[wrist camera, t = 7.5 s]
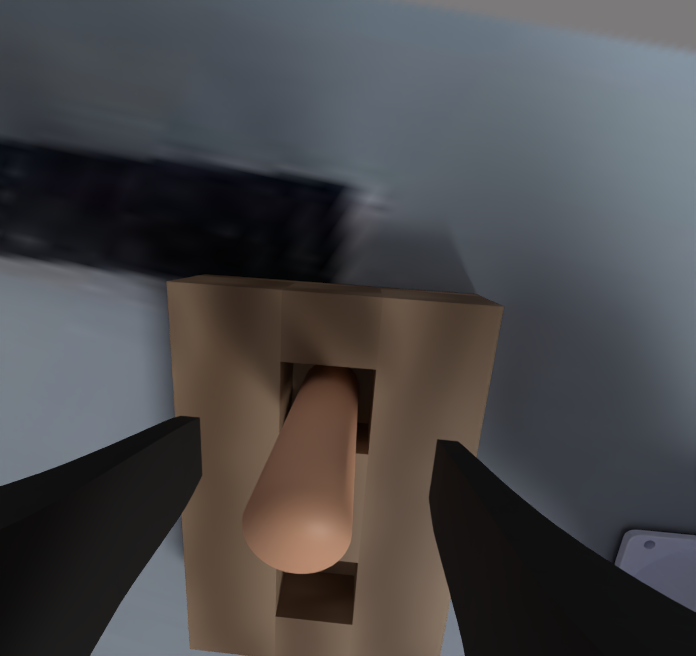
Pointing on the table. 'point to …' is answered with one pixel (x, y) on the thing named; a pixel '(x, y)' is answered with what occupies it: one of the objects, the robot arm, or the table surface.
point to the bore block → (370, 461)
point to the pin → (308, 478)
